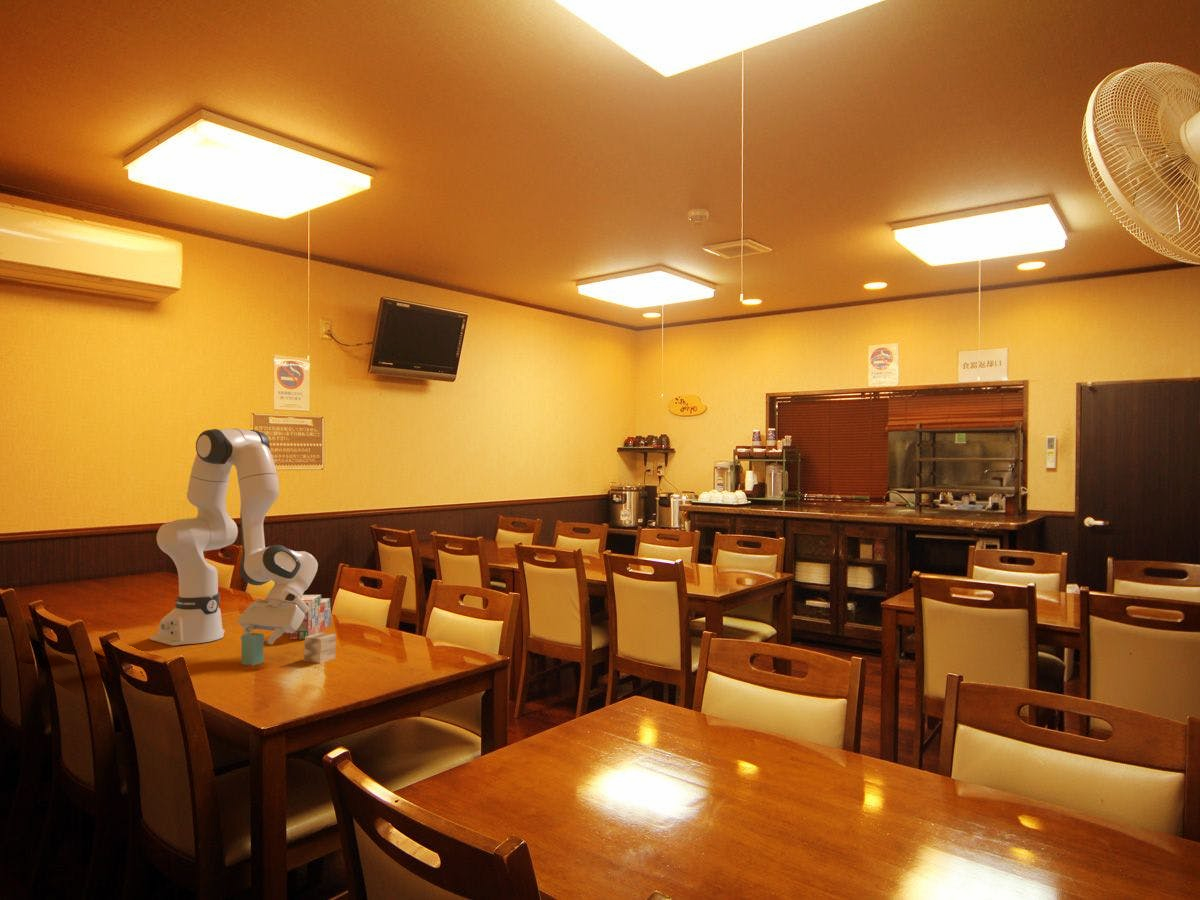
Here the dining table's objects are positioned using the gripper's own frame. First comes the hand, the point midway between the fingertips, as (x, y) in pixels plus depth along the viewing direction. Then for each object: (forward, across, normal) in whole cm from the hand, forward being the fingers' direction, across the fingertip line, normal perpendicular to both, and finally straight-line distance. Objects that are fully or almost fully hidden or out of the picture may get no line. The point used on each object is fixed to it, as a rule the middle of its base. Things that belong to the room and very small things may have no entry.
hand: (255, 641), depth 215 cm
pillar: (+5, 0, +4) cm, 6 cm away
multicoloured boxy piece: (-20, -12, +28) cm, 37 cm away
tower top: (-5, +15, +8) cm, 18 cm away
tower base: (-2, +15, +11) cm, 18 cm away
